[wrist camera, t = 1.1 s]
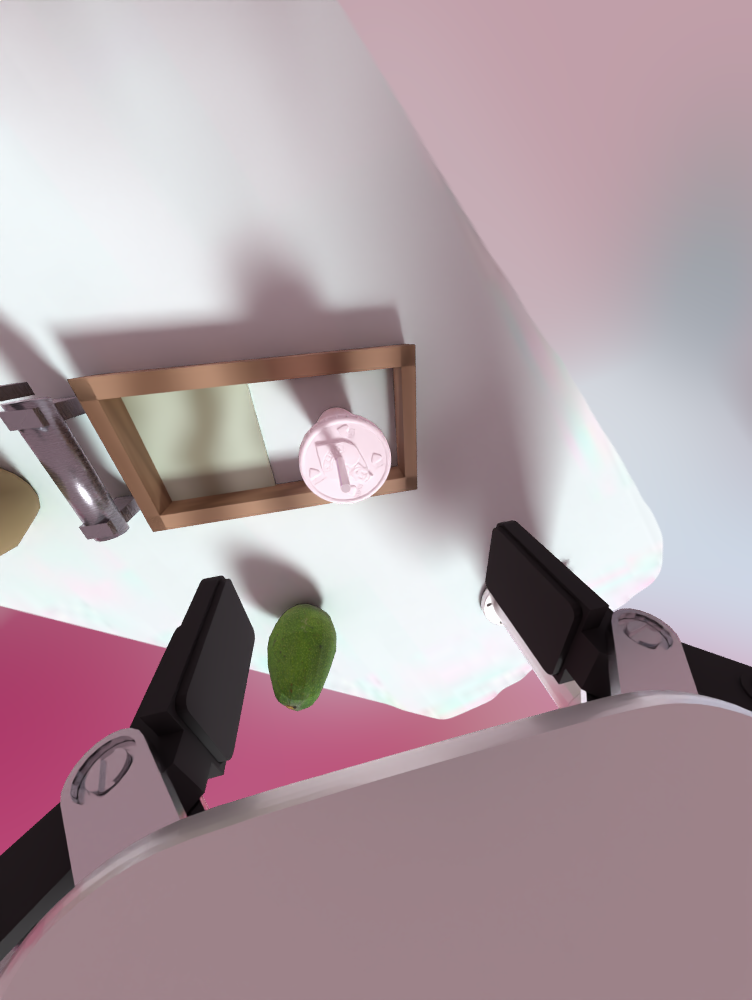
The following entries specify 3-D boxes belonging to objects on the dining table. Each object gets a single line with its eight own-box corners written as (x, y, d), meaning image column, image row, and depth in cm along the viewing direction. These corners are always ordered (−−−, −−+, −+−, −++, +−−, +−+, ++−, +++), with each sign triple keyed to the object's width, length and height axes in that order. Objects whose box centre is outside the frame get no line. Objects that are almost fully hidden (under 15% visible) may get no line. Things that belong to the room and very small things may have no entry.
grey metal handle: (75, 375, 23) (-25, 390, 16) (148, 508, 29) (97, 560, 22) (41, 378, 22) (-77, 395, 16) (122, 512, 28) (62, 566, 22)
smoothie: (326, 376, 26) (338, 410, 14) (382, 418, 29) (432, 477, 17) (289, 435, 28) (271, 510, 16) (345, 469, 30) (366, 555, 18)
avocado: (282, 585, 36) (269, 683, 26) (341, 595, 39) (351, 688, 29) (266, 628, 39) (249, 732, 29) (322, 635, 42) (325, 731, 32)
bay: (405, 343, 26) (415, 344, 23) (408, 477, 32) (417, 489, 30) (94, 374, 23) (66, 379, 20) (167, 514, 29) (152, 531, 27)
